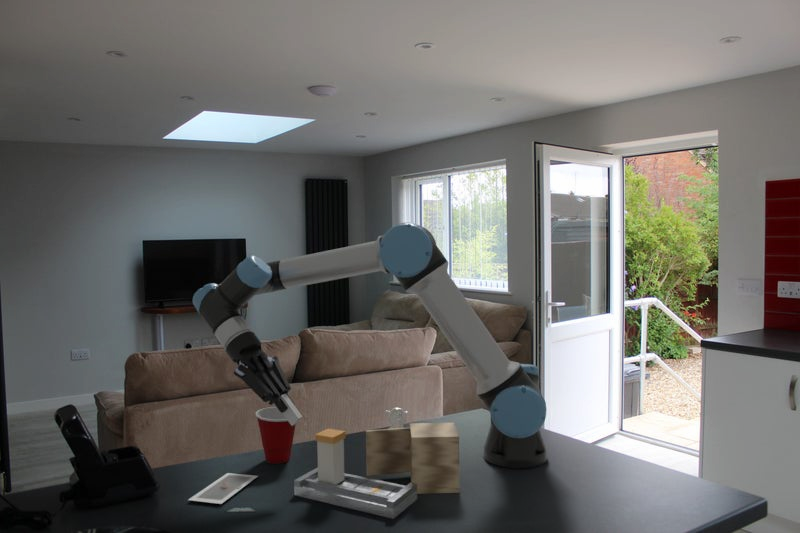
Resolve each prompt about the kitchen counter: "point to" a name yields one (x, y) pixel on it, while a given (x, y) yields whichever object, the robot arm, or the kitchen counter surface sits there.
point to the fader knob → (330, 455)
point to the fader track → (358, 493)
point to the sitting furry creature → (396, 417)
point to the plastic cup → (275, 435)
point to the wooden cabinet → (417, 455)
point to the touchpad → (223, 488)
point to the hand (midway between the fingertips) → (297, 421)
